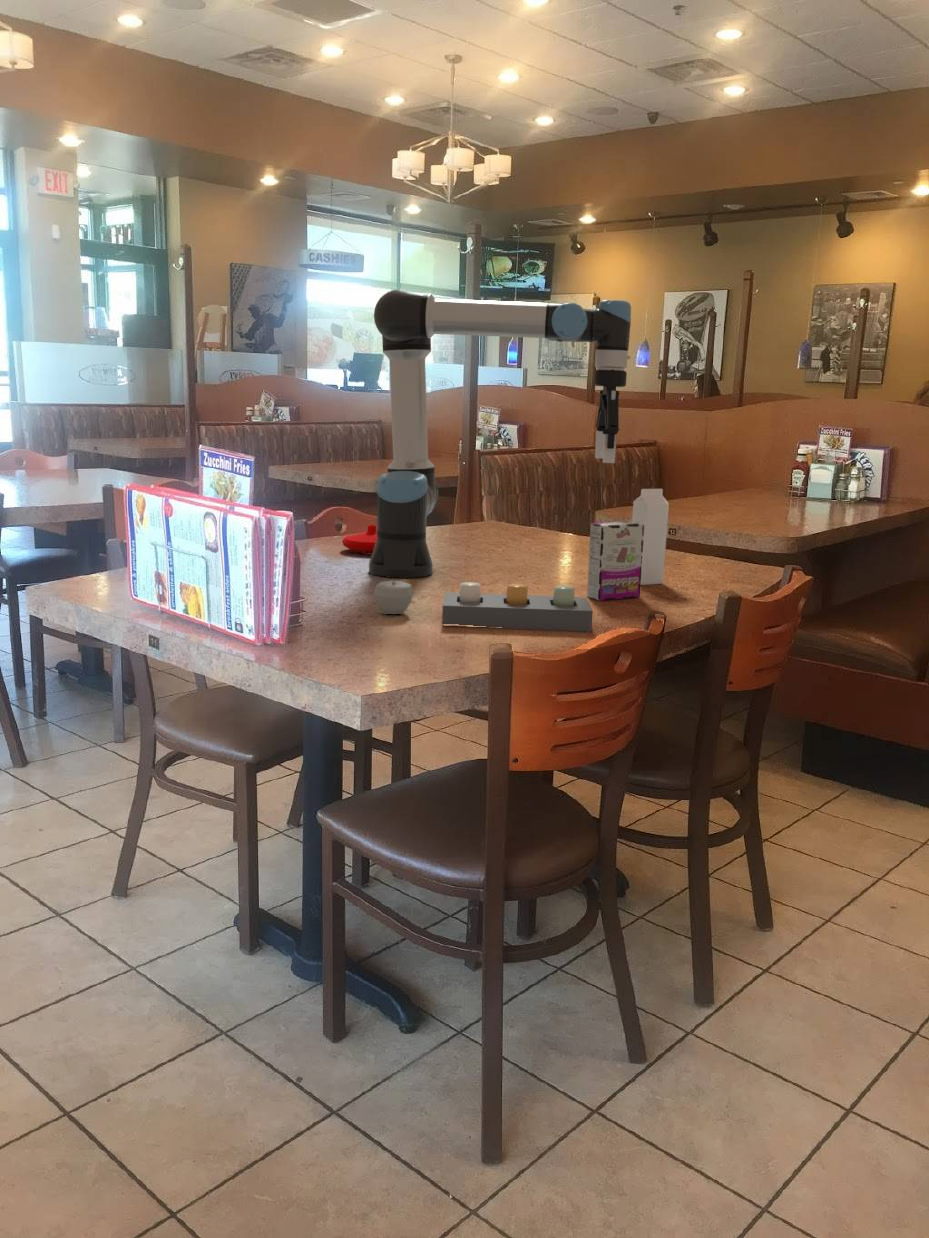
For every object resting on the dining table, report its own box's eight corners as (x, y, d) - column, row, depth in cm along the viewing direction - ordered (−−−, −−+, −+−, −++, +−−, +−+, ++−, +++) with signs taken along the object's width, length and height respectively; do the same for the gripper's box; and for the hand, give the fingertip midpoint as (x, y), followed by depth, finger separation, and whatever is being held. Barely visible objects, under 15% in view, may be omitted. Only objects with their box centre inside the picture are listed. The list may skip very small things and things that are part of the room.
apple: (397, 620, 191) (398, 587, 190) (364, 614, 195) (365, 581, 194) (421, 613, 198) (421, 580, 196) (389, 607, 202) (389, 575, 200)
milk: (662, 584, 235) (671, 490, 230) (641, 585, 233) (648, 490, 228) (648, 579, 241) (656, 487, 235) (626, 580, 238) (634, 487, 233)
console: (442, 626, 188) (442, 605, 187) (444, 612, 199) (445, 592, 198) (591, 631, 187) (592, 611, 186) (585, 617, 199) (586, 597, 198)
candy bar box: (626, 593, 223) (632, 520, 219) (640, 598, 219) (646, 523, 215) (585, 596, 218) (589, 522, 214) (598, 601, 214) (603, 525, 210)
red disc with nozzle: (350, 545, 274) (350, 520, 273) (406, 549, 272) (407, 523, 271) (335, 555, 259) (335, 528, 258) (394, 558, 257) (395, 531, 256)
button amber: (506, 610, 191) (507, 587, 190) (505, 606, 195) (506, 583, 194) (527, 611, 191) (528, 588, 190) (526, 607, 195) (527, 584, 194)
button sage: (553, 612, 191) (554, 589, 190) (551, 608, 195) (553, 585, 194) (574, 613, 191) (575, 590, 190) (572, 608, 195) (573, 586, 194)
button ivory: (459, 609, 191) (459, 586, 190) (459, 604, 195) (460, 582, 194) (480, 610, 191) (480, 586, 190) (480, 605, 195) (480, 582, 194)
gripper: (635, 369, 223) (628, 465, 228) (618, 370, 247) (612, 457, 252) (602, 368, 223) (595, 464, 228) (588, 369, 247) (582, 456, 252)
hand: (604, 460), depth 240 cm, fingers open, 13 cm apart
